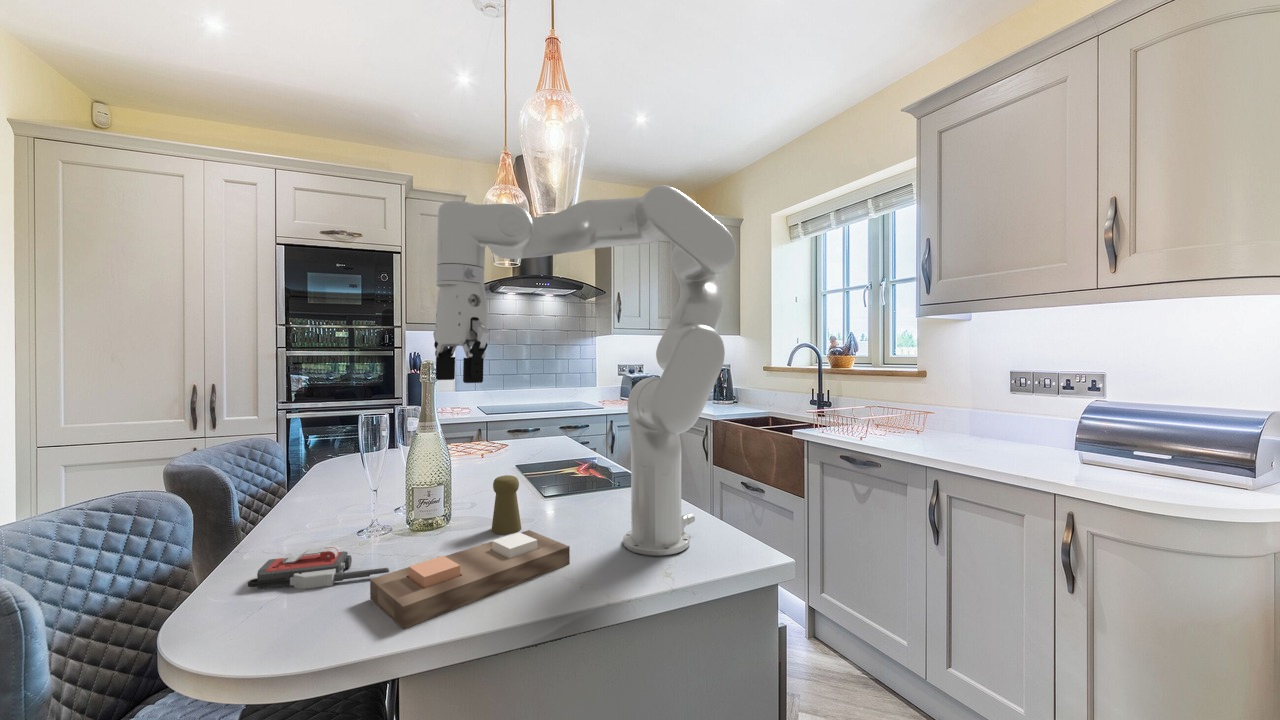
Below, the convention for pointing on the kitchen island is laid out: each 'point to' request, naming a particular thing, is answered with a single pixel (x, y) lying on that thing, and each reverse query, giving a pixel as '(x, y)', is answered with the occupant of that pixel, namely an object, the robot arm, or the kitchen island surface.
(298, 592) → the kitchen island surface
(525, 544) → the off-white key
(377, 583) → the block
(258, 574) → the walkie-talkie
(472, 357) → the robot arm
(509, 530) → the cork
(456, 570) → the terracotta key
